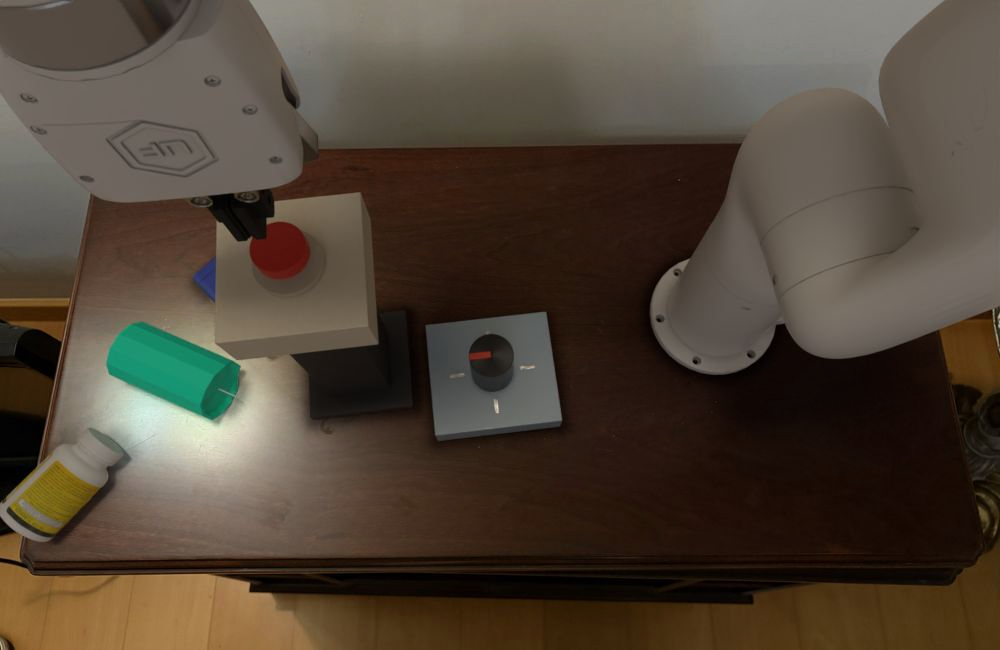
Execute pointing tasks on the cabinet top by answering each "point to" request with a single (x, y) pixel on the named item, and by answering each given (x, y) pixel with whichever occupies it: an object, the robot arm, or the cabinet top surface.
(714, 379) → the cabinet top surface
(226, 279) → the switch tower
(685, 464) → the cabinet top surface
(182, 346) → the candle
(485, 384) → the dial
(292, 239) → the power button
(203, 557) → the cabinet top surface
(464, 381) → the dial panel
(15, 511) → the supplement bottle
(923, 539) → the cabinet top surface
